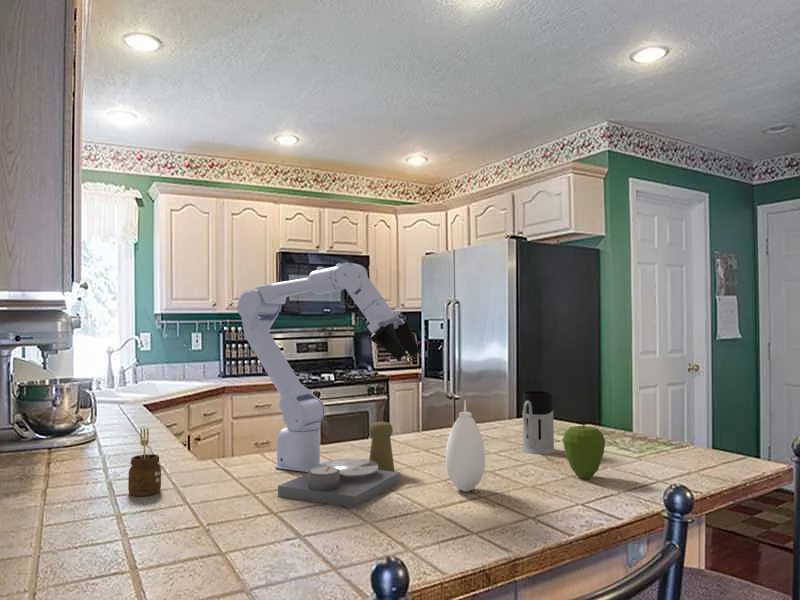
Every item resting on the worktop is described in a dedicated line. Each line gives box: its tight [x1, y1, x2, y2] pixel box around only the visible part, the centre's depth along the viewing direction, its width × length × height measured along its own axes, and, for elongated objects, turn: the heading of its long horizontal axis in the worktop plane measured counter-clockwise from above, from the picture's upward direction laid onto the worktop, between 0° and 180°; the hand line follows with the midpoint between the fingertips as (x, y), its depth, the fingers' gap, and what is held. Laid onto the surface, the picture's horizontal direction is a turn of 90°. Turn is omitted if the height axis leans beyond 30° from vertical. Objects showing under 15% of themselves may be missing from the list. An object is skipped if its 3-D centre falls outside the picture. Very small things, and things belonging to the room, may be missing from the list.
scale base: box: [277, 467, 401, 509], centre depth 117 cm, size 17×19×5 cm
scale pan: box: [320, 458, 378, 478], centre depth 120 cm, size 12×12×1 cm
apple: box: [562, 424, 606, 480], centre depth 125 cm, size 9×8×12 cm
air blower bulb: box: [445, 399, 486, 493], centre depth 116 cm, size 8×8×18 cm
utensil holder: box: [127, 428, 162, 497], centre depth 115 cm, size 6×6×12 cm
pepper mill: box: [368, 421, 396, 472], centre depth 131 cm, size 6×6×11 cm
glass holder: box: [520, 390, 556, 455], centre depth 150 cm, size 9×14×15 cm, turn 148°
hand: (409, 355), depth 126 cm, fingers open, 7 cm apart
